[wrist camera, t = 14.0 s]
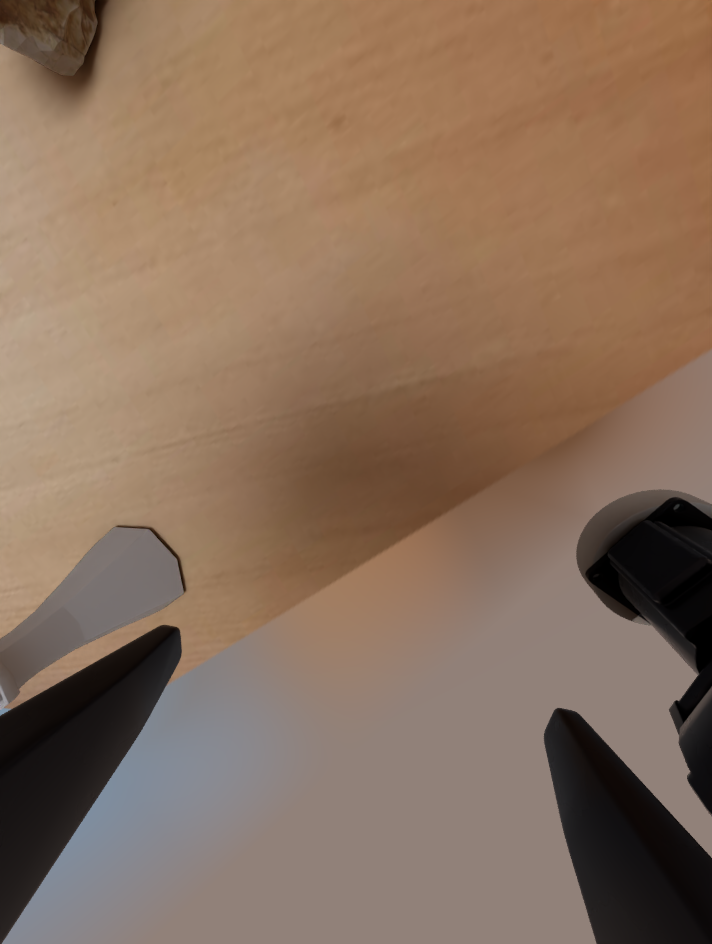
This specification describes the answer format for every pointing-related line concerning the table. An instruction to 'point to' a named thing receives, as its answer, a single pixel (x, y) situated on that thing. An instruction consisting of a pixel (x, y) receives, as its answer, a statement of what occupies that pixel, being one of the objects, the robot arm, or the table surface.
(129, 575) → the flask
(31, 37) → the rock
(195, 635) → the table surface
